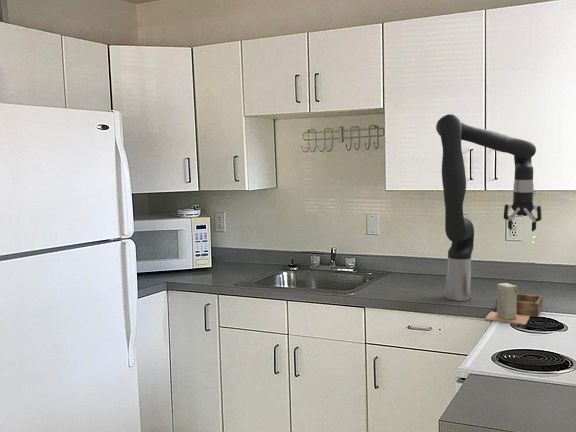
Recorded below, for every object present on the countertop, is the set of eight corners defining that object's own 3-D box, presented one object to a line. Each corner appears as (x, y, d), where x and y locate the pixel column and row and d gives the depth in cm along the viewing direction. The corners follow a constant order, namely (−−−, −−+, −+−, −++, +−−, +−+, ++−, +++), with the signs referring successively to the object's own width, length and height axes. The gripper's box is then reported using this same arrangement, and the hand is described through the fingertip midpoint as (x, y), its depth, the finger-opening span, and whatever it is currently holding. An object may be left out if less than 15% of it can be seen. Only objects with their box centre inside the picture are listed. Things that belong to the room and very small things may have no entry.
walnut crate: (495, 311, 239) (496, 299, 238) (501, 304, 249) (502, 291, 249) (537, 317, 232) (538, 303, 231) (542, 308, 242) (542, 296, 241)
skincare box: (516, 319, 228) (518, 286, 226) (506, 320, 227) (507, 287, 225) (506, 314, 234) (507, 282, 233) (496, 315, 233) (497, 283, 231)
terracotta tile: (484, 319, 229) (485, 318, 229) (490, 312, 238) (490, 311, 238) (525, 325, 223) (525, 323, 223) (529, 317, 231) (529, 316, 231)
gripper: (503, 191, 253) (501, 230, 255) (540, 192, 246) (539, 233, 248) (506, 189, 259) (505, 228, 261) (543, 190, 252) (541, 230, 254)
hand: (521, 230), depth 255 cm, fingers open, 8 cm apart
